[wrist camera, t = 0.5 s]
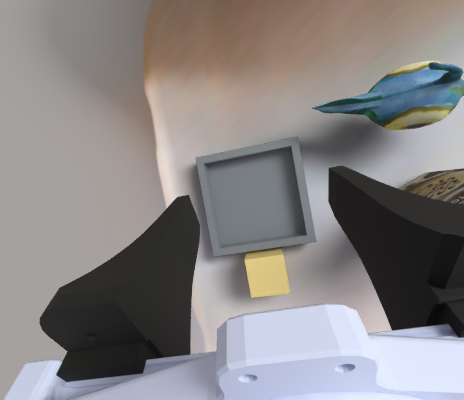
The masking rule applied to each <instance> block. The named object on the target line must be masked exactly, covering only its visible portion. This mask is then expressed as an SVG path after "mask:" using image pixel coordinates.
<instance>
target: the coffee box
mask: <svg viewBox="0 0 464 400" xmlns="http://www.w3.org/2000/svg"><path fill="white" fill-rule="evenodd" d="M398 189H400V190H403V191H406V192H410V193H413V194H417V195H420V196H424V197H428V198H432V199H436V200H441V201H446V202H450V203H456V204H462V205H464V169H454V170H445V171H436V172H428V173H425V174H423V175H421V176H419V177H418V178H416V179H414V180H412V181H411V182H409V183H407V184H405V185H404V186H402V187H400V188H398Z"/></svg>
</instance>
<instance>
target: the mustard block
mask: <svg viewBox="0 0 464 400" xmlns="http://www.w3.org/2000/svg"><path fill="white" fill-rule="evenodd" d="M245 266H246V271H247V277H248V282H249V288H250V293H251V298H254V297H263V296H271V295H280V294H288V293H290V288H289V283H288V277H287V271H286V266H285V260H284V254H283V251H282V247H277V248H270V249H263V250H256V251H249V252H247V253H246V257H245Z"/></svg>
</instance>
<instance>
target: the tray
mask: <svg viewBox="0 0 464 400" xmlns="http://www.w3.org/2000/svg"><path fill="white" fill-rule="evenodd" d="M196 163H197V168H198V174H199V179H200V185H201V190H202V196H203V201H204V207H205V212H206V218H207V223H208V229H209V234H210V240H211V245H212V251H213V256H214V257H215V256H221V255H228V254H235V253H242V252H249V251H256V250H263V249H270V248H277V247H283V246H290V245H297V244H304V243H311V242H316V238H315V233H314V227H313V221H312V215H311V210H310V204H309V198H308V193H307V187H306V181H305V175H304V170H303V164H302V158H301V153H300V147H299V141H298V137H293V138H289V139H284V140H279V141H274V142H269V143H264V144H260V145H255V146H250V147H245V148H240V149H236V150H231V151H226V152H221V153H216V154H211V155H207V156H202V157H197V158H196Z"/></svg>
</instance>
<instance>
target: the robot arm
mask: <svg viewBox="0 0 464 400" xmlns="http://www.w3.org/2000/svg"><path fill="white" fill-rule="evenodd" d="M329 204H330V206H331V209H332V211H333V213H334V216H335V218H336V219H337V221H338V223H339V224H340V226H341V228H342V229H343V231H344V232H345V234H346V235H347V237H348V239H349V240H350V242H351V243H352V245H353V247H354V248H355V250H356V251H357V253H358V255H359V257H360V258H361V260H362V262H363V264H364V267H365V269H366V271H367V273H368V275H369V277H370V279H371V281H372V284H373V286H374V288H375V290H376V292H377V295H378V297H379V299H380V302H381V304H382V306H383V309H384V311H385V314H386V316H387V318H388V321H389V323H390V326H391V329H392V331H384V332H376V333H368V334H367V332H366V330H365V328H364V326H363V324H362V321H361V319H360V317H359V315H358V313H357V311H356V310H353V309H351V308H349V307H347V306H344V305H342V304H316V305H308V306H301V307H294V308H286V309H279V310H271V311H264V312H256V313H249V314H243V315H239V316H236V317H233V318H229V319H228V320H227V321H226V322H225V323H224V324H222V325H221V326H220V327H219V328H218V329H217V351H216V352H208V353H200V354H191V355H190V327H191V325H190V324H191V298H192V283H193V275H194V270H195V264H196V258H197V252H198V246H199V237H200V224H199V221H198V219H197V216H196V213H195V211H194V208H193V205H192V203H191V200H190V197H189V195H186V196H181V197H177V198H176V199H175V200H174V201H173V202H172V203H171V204H170V206H169V207H168V208H167V209H166V210H165V211H164V212H163V213H162V215H161V216H160V217H159V218H158V219H157V220H156V221H155V222H154V223H153V224H152V225H151V226H150V227H149V228H148V229H147V230H146V231H145V232H144V233H143V234H142V235H141V236H140V237H139V238H137V239H136V240H135V241H134V242H133V243H132V244H130V245H129V246H128V247H126V248H125V249H124V250H122V251H121V252H120V253H118V254H117V255H115V256H114V257H113V258H111V259H110V260H108V261H107V262H105V263H104V264H102V265H101V266H99V267H97V268H96V269H94V270H92V271H91V272H89V273H87V274H85V275H84V276H82V277H80V278H78V279H76V280H74V281H72V282H70V283H68V284H66V285H65V286H62V287H61V288H59V290H58V291H57V293H56V294H55V296H54V297H53V299H52V300H51V302H50V303H49V305H48V306H47V308H46V309H45V311H44V313H43V314H42V316H41V317H40V325H41V328H42V330H43V331H44V332H45V333H46V334H47V335H48V336H49V337H50V338H51V339H53V340H54V341H55V342H57V343H58V344H59V345H60V346H61V347H63V348H64V349H65V350H66V351H68V352H67V354H66V356H65V358H64V360H63V361H62V360H58V359H50V360H42V361H34V362H28V363H26V364H25V365H24V367H23V369H22V370H21V372H20V373H19V375H18V377H17V378H16V380H15V382H14V383H13V385H12V386H11V388H10V390H9V391H8V393H7V395H6V396H5V398H4V400H464V205H462V204H456V203H450V202H446V201H441V200H436V199H432V198H428V197H424V196H420V195H417V194H413V193H410V192H406V191H403V190H400V189H397V188H394V187H392V186H389V185H386V184H384V183H381V182H379V181H376V180H374V179H372V178H369V177H367V176H365V175H362V174H360V173H358V172H356V171H354V170H351V169H349V168H347V167H344V166H337V167H332V168H329Z"/></svg>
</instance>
